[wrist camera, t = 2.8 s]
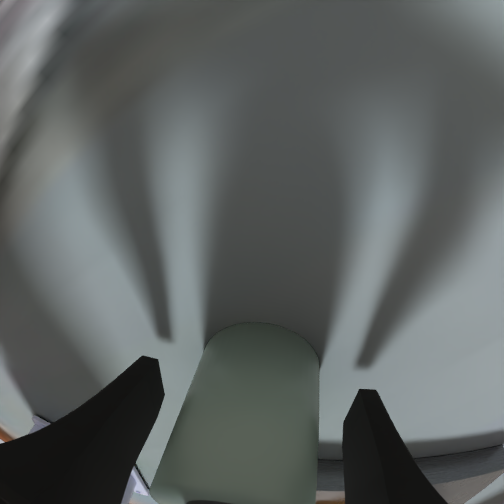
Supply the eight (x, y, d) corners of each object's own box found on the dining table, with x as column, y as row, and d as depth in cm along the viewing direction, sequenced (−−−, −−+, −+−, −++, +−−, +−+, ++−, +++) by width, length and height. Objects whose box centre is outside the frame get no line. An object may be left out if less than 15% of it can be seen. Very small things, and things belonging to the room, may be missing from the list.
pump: (205, 392, 13) (155, 538, 6) (202, 313, 11) (117, 499, 5) (307, 408, 12) (293, 562, 6) (330, 331, 10) (333, 539, 4)
